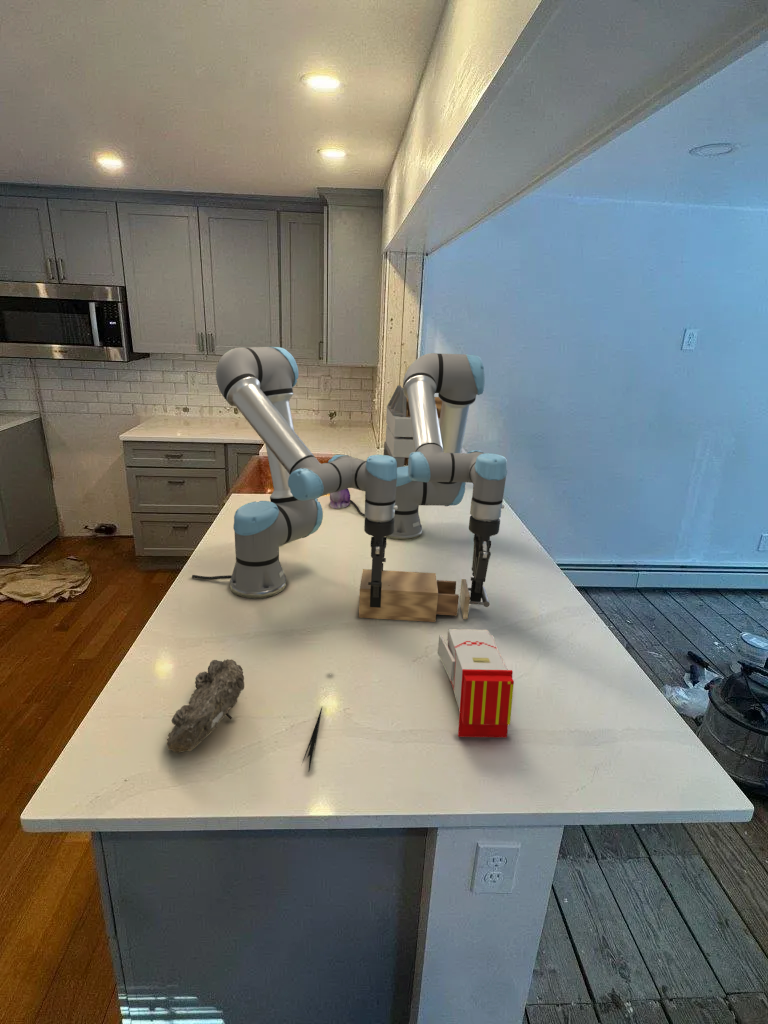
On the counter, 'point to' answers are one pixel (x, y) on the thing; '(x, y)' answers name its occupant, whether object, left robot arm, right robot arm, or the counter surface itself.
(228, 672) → the fossil
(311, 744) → the feather
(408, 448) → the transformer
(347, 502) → the figurine
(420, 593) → the wooden drawer box
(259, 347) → the left robot arm
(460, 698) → the toy
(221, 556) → the counter surface
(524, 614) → the counter surface
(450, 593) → the drawer
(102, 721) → the counter surface
